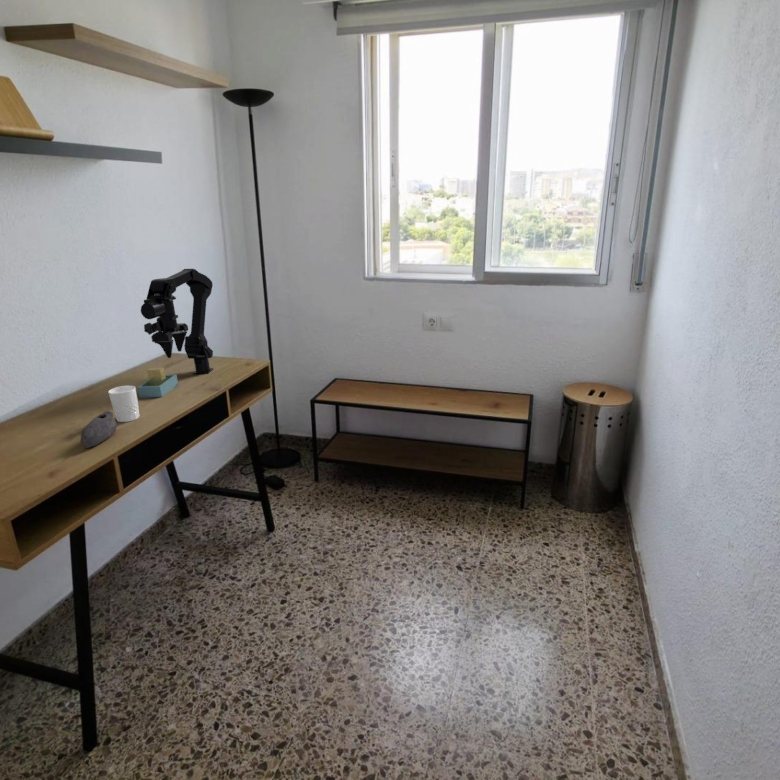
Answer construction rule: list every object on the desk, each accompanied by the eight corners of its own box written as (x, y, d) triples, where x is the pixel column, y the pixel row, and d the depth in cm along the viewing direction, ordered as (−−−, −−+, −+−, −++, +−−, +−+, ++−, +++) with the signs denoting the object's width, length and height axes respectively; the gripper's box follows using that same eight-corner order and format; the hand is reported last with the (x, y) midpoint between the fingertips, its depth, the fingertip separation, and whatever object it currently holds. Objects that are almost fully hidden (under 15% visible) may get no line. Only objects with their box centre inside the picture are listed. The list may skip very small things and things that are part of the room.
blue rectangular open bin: (157, 385, 203) (155, 375, 202) (178, 384, 203) (176, 374, 202) (139, 397, 190) (137, 387, 189) (161, 397, 190) (159, 386, 188)
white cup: (131, 423, 167) (124, 393, 163) (109, 422, 168) (102, 393, 165) (146, 414, 174) (140, 385, 171) (125, 413, 175) (119, 385, 172)
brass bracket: (156, 386, 199) (152, 366, 197) (169, 386, 199) (165, 366, 196) (149, 392, 194) (144, 371, 191) (162, 391, 193) (158, 371, 191)
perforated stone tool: (92, 452, 147) (86, 429, 145) (75, 452, 148) (69, 429, 146) (123, 430, 161) (118, 409, 159) (108, 430, 162) (102, 409, 160)
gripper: (157, 309, 203) (164, 349, 208) (133, 319, 185) (142, 362, 191) (185, 308, 202) (192, 347, 208) (164, 318, 185) (172, 361, 190)
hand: (174, 354), depth 199 cm, fingers open, 9 cm apart
